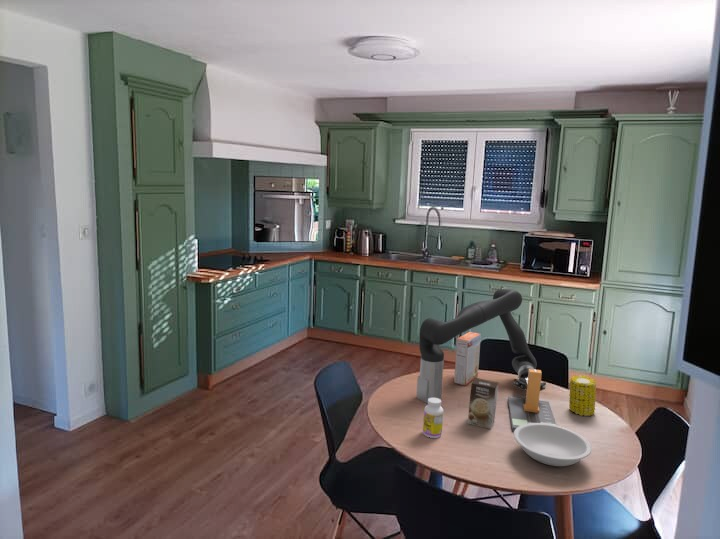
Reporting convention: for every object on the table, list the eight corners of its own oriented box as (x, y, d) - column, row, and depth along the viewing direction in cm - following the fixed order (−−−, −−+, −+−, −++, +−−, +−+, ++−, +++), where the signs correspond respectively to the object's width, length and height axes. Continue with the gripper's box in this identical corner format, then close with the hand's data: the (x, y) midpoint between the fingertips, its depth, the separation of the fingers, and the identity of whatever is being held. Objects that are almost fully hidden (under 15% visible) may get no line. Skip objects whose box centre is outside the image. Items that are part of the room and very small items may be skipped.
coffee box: (466, 423, 193) (470, 382, 190) (470, 416, 198) (474, 377, 196) (491, 429, 189) (495, 387, 186) (495, 422, 195) (498, 381, 192)
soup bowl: (512, 470, 162) (514, 451, 161) (511, 435, 185) (513, 418, 184) (595, 485, 156) (597, 465, 155) (583, 447, 179) (585, 429, 178)
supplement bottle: (419, 431, 185) (421, 397, 183) (435, 428, 188) (438, 395, 186) (428, 440, 179) (430, 405, 177) (445, 437, 182) (447, 402, 179)
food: (598, 418, 205) (577, 422, 202) (578, 400, 215) (558, 403, 212) (608, 386, 199) (586, 390, 196) (587, 369, 209) (566, 372, 206)
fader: (539, 412, 200) (543, 373, 197) (524, 410, 201) (528, 371, 198) (538, 408, 204) (542, 369, 201) (523, 406, 205) (527, 367, 202)
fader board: (558, 437, 185) (560, 428, 184) (512, 431, 188) (513, 422, 188) (548, 405, 212) (549, 396, 211) (507, 400, 215) (508, 392, 215)
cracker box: (466, 374, 243) (469, 330, 239) (478, 377, 239) (481, 333, 235) (452, 382, 231) (456, 337, 228) (465, 386, 228) (469, 340, 224)
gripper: (512, 366, 220) (515, 381, 204) (545, 369, 218) (551, 385, 201) (510, 382, 222) (513, 399, 205) (543, 386, 219) (549, 403, 202)
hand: (532, 392), depth 203 cm, fingers closed
